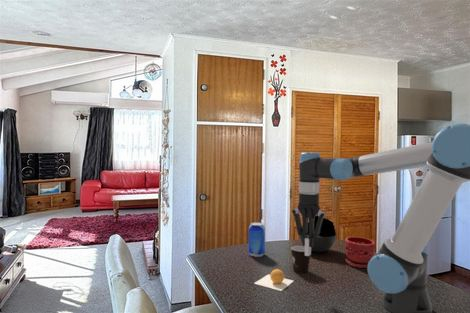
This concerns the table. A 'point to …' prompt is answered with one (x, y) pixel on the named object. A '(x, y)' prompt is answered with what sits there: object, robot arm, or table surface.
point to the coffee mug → (300, 260)
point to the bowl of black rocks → (323, 236)
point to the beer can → (256, 239)
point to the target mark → (269, 283)
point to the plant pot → (359, 251)
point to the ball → (277, 276)
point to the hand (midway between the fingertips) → (307, 254)
